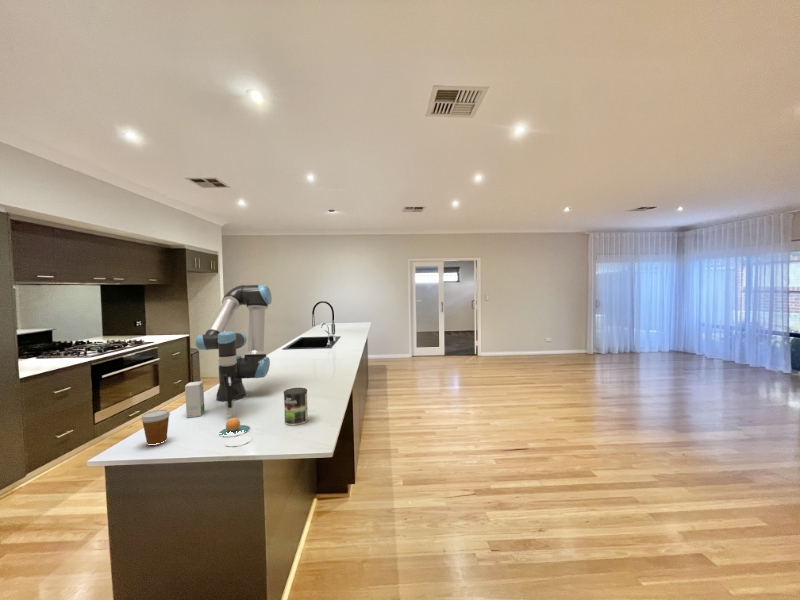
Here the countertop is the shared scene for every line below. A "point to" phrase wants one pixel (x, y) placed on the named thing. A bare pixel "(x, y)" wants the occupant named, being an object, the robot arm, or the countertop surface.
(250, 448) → the countertop surface
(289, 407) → the coffee can
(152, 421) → the disposable coffee cup
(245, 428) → the disc
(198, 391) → the skincare box
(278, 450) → the countertop surface
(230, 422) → the ball
